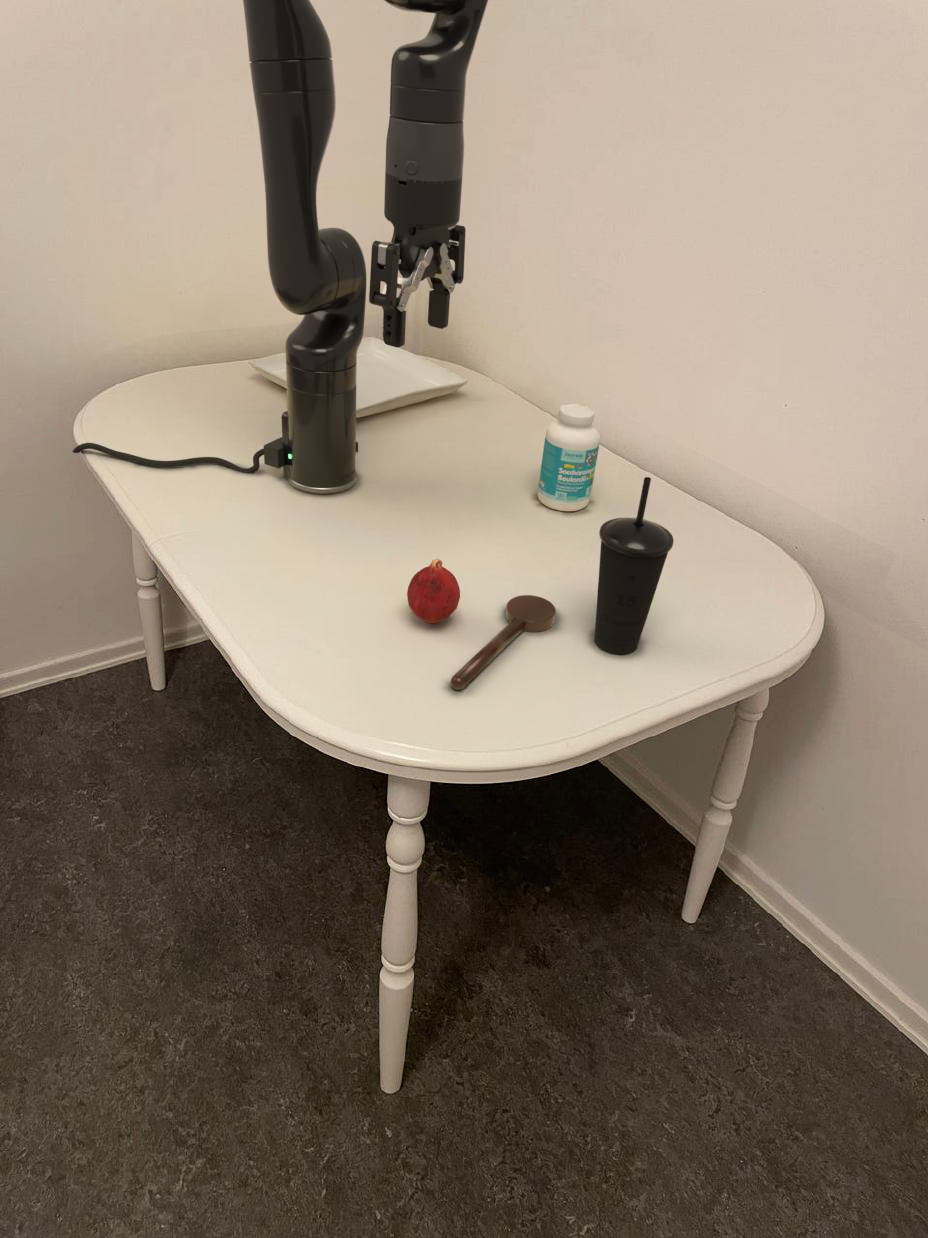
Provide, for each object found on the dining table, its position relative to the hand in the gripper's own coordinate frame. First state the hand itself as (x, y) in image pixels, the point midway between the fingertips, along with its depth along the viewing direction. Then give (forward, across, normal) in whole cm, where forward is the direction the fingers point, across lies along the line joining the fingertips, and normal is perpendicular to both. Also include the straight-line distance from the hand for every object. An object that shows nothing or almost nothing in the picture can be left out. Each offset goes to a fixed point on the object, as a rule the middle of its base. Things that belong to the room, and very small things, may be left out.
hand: (416, 335), depth 102 cm
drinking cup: (+28, 0, +28) cm, 40 cm away
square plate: (+28, -44, -39) cm, 65 cm away
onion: (+28, +9, +10) cm, 31 cm away
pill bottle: (+28, -28, +8) cm, 41 cm away
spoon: (+28, +9, +18) cm, 35 cm away
